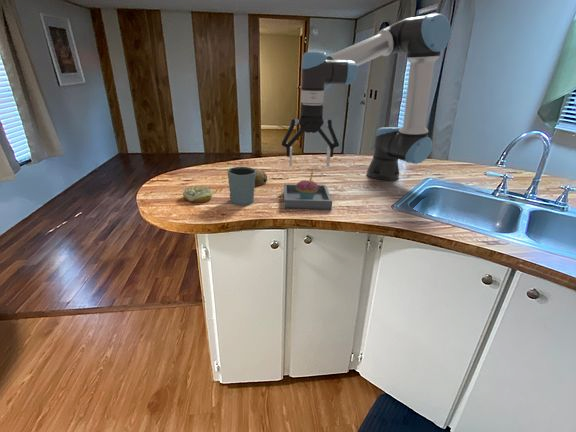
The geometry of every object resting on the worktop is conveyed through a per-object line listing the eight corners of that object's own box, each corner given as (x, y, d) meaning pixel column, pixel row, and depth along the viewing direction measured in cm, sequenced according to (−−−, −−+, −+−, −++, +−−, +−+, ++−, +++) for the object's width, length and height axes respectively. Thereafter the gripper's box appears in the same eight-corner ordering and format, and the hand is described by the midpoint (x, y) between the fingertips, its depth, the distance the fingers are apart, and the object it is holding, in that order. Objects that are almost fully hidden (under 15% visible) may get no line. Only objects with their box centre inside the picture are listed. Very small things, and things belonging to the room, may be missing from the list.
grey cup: (232, 195, 120) (230, 165, 115) (257, 196, 120) (257, 167, 115) (226, 206, 111) (224, 174, 106) (254, 207, 111) (254, 175, 106)
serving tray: (325, 193, 126) (325, 185, 125) (331, 210, 111) (332, 201, 109) (283, 192, 126) (284, 184, 124) (284, 209, 110) (284, 200, 109)
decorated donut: (189, 206, 110) (188, 196, 109) (180, 196, 118) (179, 187, 116) (216, 200, 116) (216, 191, 114) (206, 191, 124) (205, 183, 122)
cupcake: (321, 197, 119) (323, 167, 114) (311, 204, 112) (313, 173, 107) (302, 193, 123) (303, 163, 118) (291, 199, 116) (292, 168, 111)
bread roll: (259, 194, 132) (266, 179, 129) (238, 183, 132) (245, 167, 128) (265, 187, 141) (272, 172, 137) (245, 176, 141) (252, 161, 137)
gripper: (274, 104, 100) (274, 168, 109) (351, 105, 100) (345, 168, 109) (275, 102, 106) (275, 162, 115) (346, 103, 107) (341, 162, 116)
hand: (309, 165), depth 112 cm, fingers open, 13 cm apart
